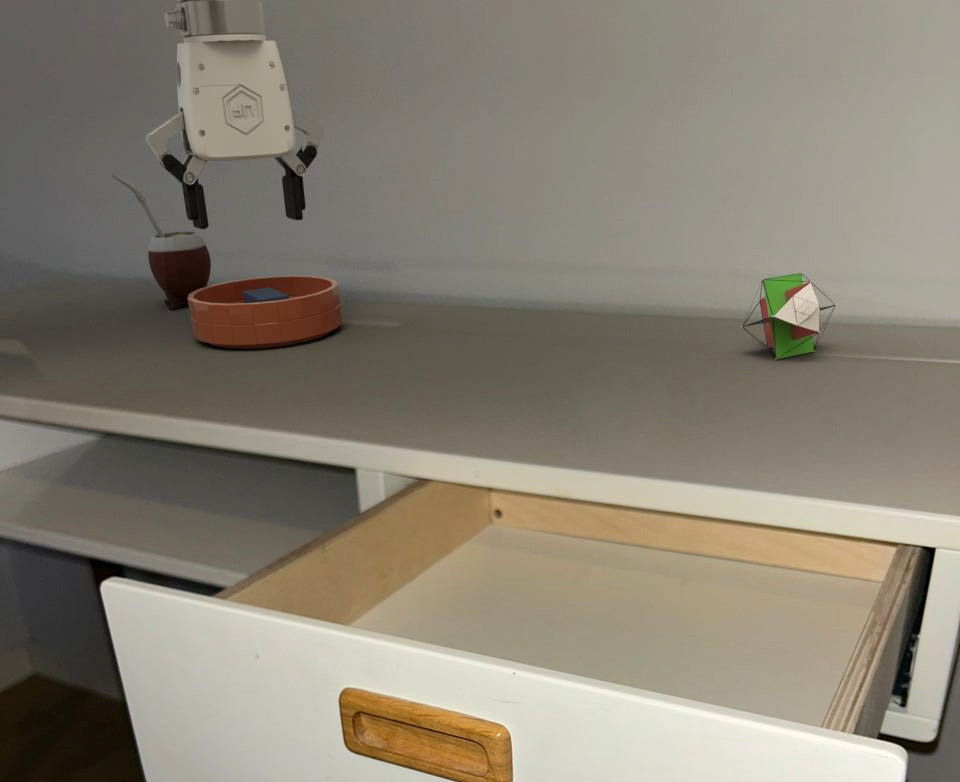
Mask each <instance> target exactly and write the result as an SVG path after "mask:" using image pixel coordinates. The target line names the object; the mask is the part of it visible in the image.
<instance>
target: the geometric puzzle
mask: <svg viewBox="0 0 960 782" xmlns="http://www.w3.org/2000/svg"><path fill="white" fill-rule="evenodd" d="M803 277H804V278H805V279H807V280H806V281H804V280H803ZM814 287H815V288H816V289H817V290H818V291H820V289H819V287H817V286H816V285H815V284H814V283H813V281H812V280H810V279H809V278H807V277H806V275H805V274H803V272H802V271H800V272H799V273H792V274H787V275H780V276H774V277H769V278H763V277H762V278H761V283H760V284H759V287H758V288H760V294H759V300H758V302H757V304H756V305H755V307H754V308H753V309H752V311H751V312H750V311H748V312H747V314H746V316H747V318H745V319H744V322H743V324H742V325H741V326H740V328H741V329H743V330H745V331H746V333H748V334H749V335H750V336H751V337H753V338H754V340H755V341H756V342H758V344H759V345H760V346H761V347H762V348H764V346H765V347H766V349H768V352H769V353H770V354H771V356H772V357H773V358H774V360H775V361H777V360H780V359H784V358H790V357H795V356H800V355H805V354H810V353H813V352H815V353H816V348H817V347H818V345H817V344H818V343H819V342H820V340H821V338H822V335H823V334H824V331H825V330H826V328H827V325H828V323H829V321H830V319H831V316H832V315H833V312H834V310H835V308H836V306H837V305H838V304H837V303H834V304H832V305H829V306H822V307H821V305H820V302H819V299H818V296H817V294H816V291H815V288H814ZM762 289H763V290H762ZM762 291H763V292H764V297H763V298H762ZM758 292H759V290H756V293H755V295H757V293H758ZM821 294H823V296H825V297H826V298H827V299H828V300H829V301H830V302H831V303H833V301H832V299H830V297H828V296H827V295H826V294H825V293H824V292H823V291H821ZM755 298H756V297H754V298H753V301H752V302H754V301H755ZM752 305H753V304H750V307H749V309H751V307H752ZM758 305H759V306H760V312H761V318H762V319H760V320H756V321H755V322H751V323H748V324H746V323H747V321H748V320H749V319H750V317H751V316H752V314H753V312H754V311H755V309H756V308H757V306H758ZM832 307H833V308H832ZM829 308H832V310H831V312H830V313H829V315H828V317H827V318H826V319H825V322H824V323H823V326H822V327H821V328H820V325H821V324H820V321H821V319H820V318H821V311H824V310H826V309H829ZM749 312H750V314H749ZM761 324H762V325H763V329H764V330H763V331H764V336H765V343H766V344H764V342H762V341H761V340H759V339H758V338H757V337H756V336H755V335H753V334H752V333H751V332H750V331H749V330H747V329H746V327H750V326H756V325H761ZM825 324H826V325H825ZM824 325H825V327H824ZM823 327H824V329H823ZM822 329H823V331H822ZM821 331H822V333H821ZM820 333H821V336H820V337H819V335H820ZM815 336H817V338H816V341H815V345H814V343H813V338H814V337H815ZM771 349H772V350H773V351H774V354H773V352H772V350H771Z"/></svg>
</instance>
